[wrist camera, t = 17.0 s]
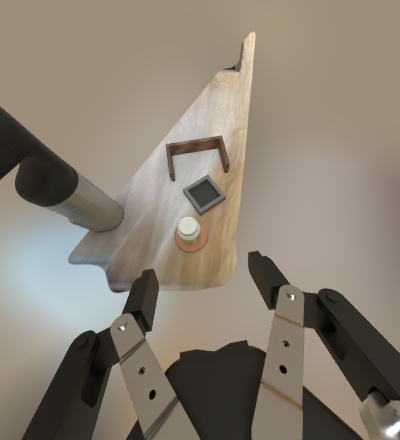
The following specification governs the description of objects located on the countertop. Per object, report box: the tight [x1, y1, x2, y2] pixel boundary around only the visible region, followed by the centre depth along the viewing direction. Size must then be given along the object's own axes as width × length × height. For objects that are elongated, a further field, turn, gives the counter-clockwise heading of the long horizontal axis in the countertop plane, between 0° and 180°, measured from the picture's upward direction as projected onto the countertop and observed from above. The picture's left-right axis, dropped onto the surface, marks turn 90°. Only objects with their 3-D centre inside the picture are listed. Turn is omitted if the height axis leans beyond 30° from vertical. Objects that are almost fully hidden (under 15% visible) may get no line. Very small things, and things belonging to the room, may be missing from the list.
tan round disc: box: [174, 220, 207, 252], centre depth 43 cm, size 9×9×1 cm
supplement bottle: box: [177, 217, 201, 245], centre depth 38 cm, size 5×5×10 cm
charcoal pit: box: [183, 175, 226, 215], centre depth 46 cm, size 9×9×2 cm
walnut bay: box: [166, 136, 230, 181], centre depth 49 cm, size 18×11×4 cm, turn 99°
